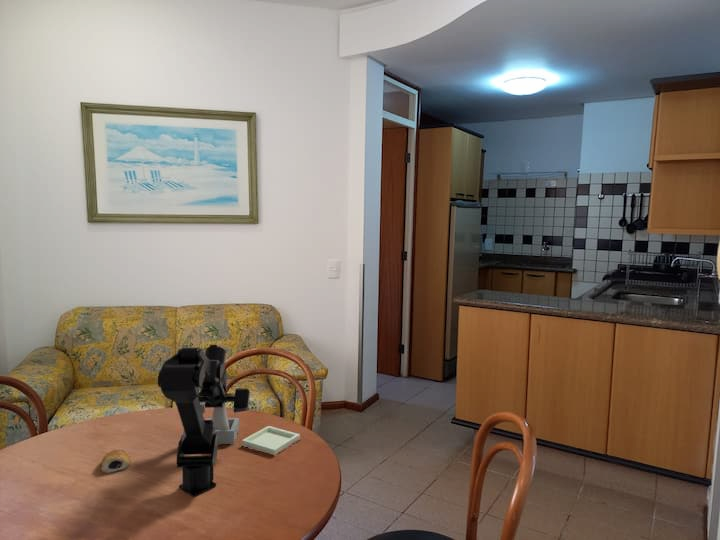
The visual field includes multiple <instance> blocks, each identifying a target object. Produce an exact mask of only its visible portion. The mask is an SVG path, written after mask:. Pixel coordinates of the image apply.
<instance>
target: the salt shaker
mask: <svg viewBox="0 0 720 540" xmlns="http://www.w3.org/2000/svg"><path fill="white" fill-rule="evenodd" d="M227 403H228V402H224V403H223V407H213V411H212V416H211V418H212V421H213V425H214V428H215V429H214V430H230V428H229V423H228V418H229V417H228V413H227V407H226V404H227Z"/></svg>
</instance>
